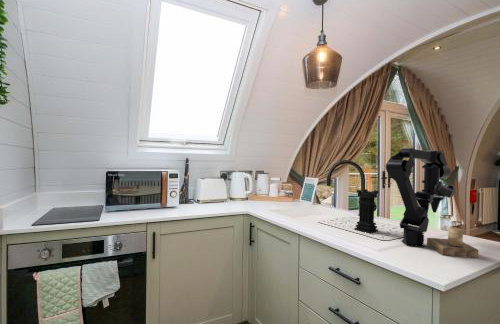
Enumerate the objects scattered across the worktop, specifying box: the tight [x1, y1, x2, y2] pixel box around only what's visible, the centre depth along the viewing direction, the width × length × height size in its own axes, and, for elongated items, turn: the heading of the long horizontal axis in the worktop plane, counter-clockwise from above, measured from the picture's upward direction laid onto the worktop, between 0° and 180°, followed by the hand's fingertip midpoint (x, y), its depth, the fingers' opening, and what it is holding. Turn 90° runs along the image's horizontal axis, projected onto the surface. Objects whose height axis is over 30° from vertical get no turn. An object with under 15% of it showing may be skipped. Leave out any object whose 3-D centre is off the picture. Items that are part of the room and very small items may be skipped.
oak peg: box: [447, 227, 464, 248], centre depth 103 cm, size 4×4×9 cm
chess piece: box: [353, 188, 379, 234], centre depth 132 cm, size 8×8×20 cm
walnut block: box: [426, 237, 479, 259], centre depth 106 cm, size 12×12×3 cm
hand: (430, 213), depth 118 cm, fingers open, 9 cm apart
